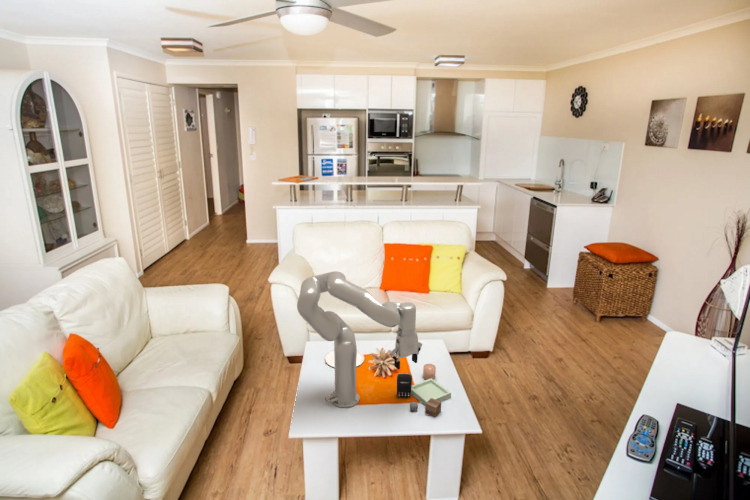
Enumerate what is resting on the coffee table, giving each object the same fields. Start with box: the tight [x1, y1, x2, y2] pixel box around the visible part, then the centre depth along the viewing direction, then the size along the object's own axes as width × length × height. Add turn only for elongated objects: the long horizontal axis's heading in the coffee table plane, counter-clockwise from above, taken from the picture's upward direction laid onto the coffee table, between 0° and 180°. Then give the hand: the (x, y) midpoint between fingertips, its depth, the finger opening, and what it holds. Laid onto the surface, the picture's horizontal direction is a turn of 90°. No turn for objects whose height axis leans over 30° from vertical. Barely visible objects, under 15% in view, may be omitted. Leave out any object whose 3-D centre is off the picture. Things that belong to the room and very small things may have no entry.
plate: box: [324, 349, 365, 369], centre depth 235 cm, size 21×21×1 cm
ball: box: [409, 401, 419, 411], centre depth 194 cm, size 4×4×4 cm
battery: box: [396, 372, 413, 399], centre depth 202 cm, size 7×4×11 cm, turn 87°
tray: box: [411, 378, 452, 406], centre depth 205 cm, size 14×14×2 cm
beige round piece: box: [422, 363, 437, 381], centre depth 218 cm, size 6×6×6 cm
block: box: [424, 398, 442, 418], centre depth 192 cm, size 5×5×5 cm
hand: (405, 364), depth 199 cm, fingers open, 9 cm apart
